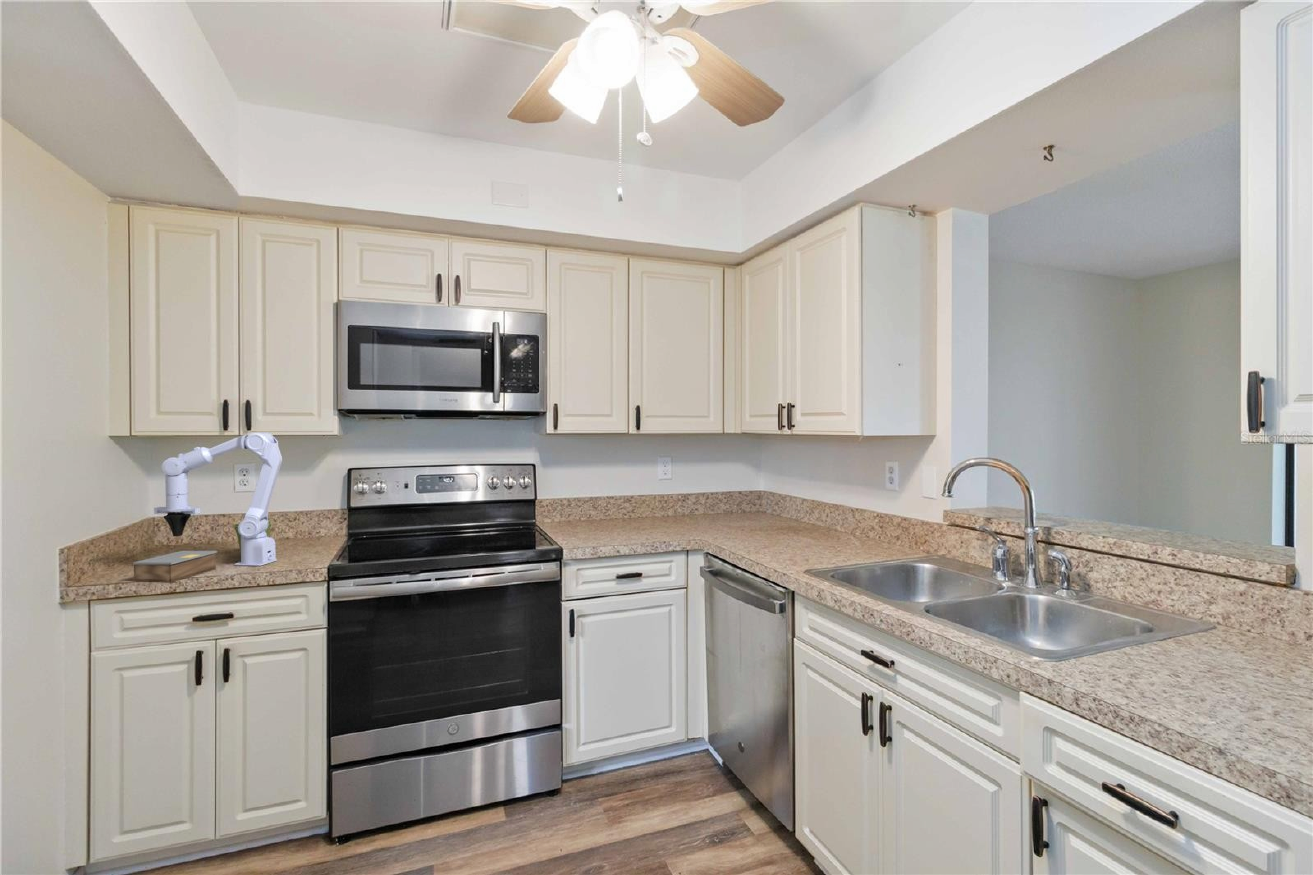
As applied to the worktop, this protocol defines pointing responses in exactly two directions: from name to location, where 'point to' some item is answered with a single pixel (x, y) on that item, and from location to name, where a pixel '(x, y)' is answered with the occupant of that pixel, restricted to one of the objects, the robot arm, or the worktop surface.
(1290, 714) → the worktop surface
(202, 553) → the lid
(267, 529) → the plant pot
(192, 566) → the box base
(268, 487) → the robot arm
